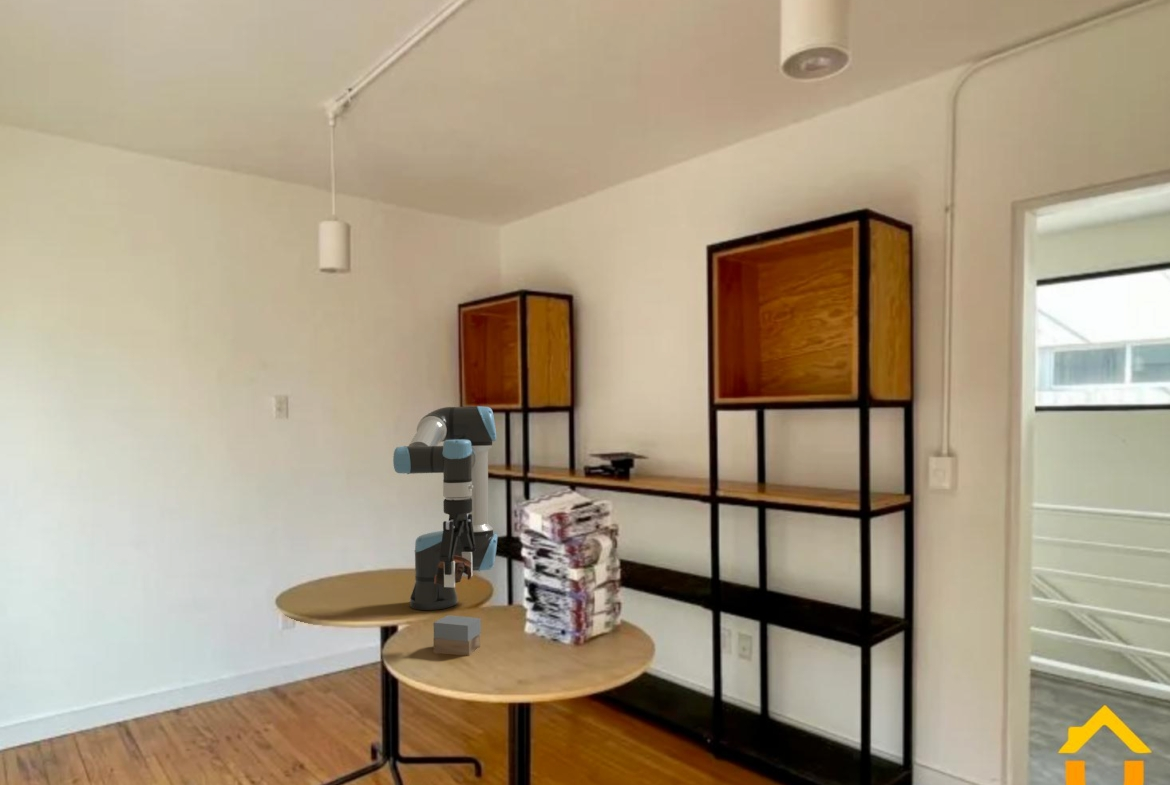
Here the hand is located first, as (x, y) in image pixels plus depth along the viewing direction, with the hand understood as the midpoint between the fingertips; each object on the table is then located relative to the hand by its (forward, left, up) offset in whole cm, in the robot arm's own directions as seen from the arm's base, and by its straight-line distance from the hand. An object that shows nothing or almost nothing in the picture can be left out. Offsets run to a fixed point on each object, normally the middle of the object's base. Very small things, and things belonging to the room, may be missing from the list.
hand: (458, 581), depth 182 cm
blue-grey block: (0, 0, -14) cm, 14 cm away
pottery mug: (+1, -1, -1) cm, 1 cm away
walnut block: (0, 0, -18) cm, 18 cm away
